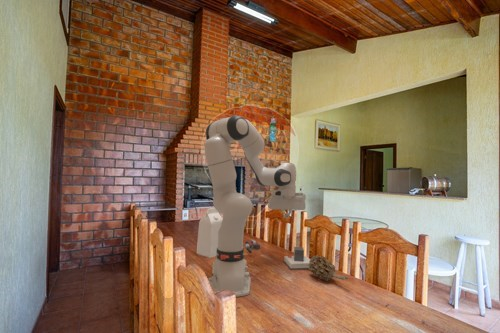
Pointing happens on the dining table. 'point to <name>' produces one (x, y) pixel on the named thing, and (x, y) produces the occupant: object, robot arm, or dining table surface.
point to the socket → (296, 263)
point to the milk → (209, 233)
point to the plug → (298, 254)
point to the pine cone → (323, 268)
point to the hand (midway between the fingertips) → (286, 217)
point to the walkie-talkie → (252, 245)
